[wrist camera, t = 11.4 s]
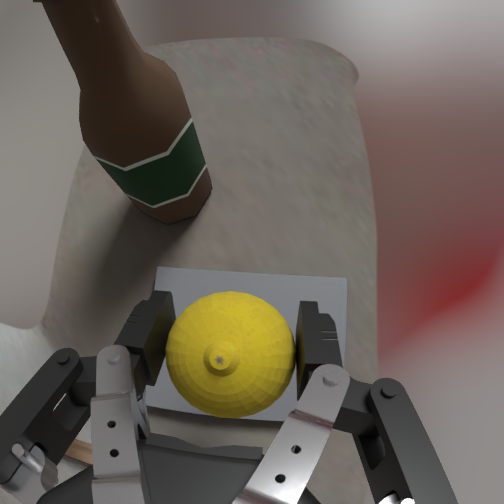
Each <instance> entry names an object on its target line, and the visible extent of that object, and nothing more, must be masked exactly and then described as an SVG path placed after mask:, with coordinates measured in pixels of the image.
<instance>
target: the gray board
mask: <svg viewBox="0 0 504 504" xmlns="http://www.w3.org/2000/svg"><path fill="white" fill-rule="evenodd" d="M154 290H159V291H170V292H171V293H172V296H173V303H174V309H175V315H176V319H177V318H178V317H179V316H180V314H181V313H182V312H183V311H184V310H185V309H186V308H187V307H188V306H190V305H191V304H193V303H194V302H195V301H197V300H198V299H200V298H203V297H205V296H208V295H211V294H213V293H219V292H228V291H234V292H242V293H248V294H251V295H253V296H256V297H258V298H261V299H263V300H264V301H266V302H267V303H269V304H270V305H271V306H273V307H274V308H276V309H277V310H278V312H279V313H280V314H281V315H282V316H283V318H284V319H285V320H286V321H287V323H288V325H289V327H290V329H291V331H292V334H293V336H294V341H295V334H296V324H297V317H298V310H299V303H300V301H317V302H318V309H319V313H328V314H329V315H330V316H331V317H332V319H333V320H334V321H335V325H336V330H337V331H336V332H337V336H338V341H339V347H340V352H341V358H342V364H343V368H344V355H345V336H346V309H347V278H335V277H315V276H297V275H279V274H262V273H245V272H230V271H215V270H200V269H186V268H172V267H159V266H157V272H156V280H155V288H154ZM145 400H146V405H147V406H153V407H158V408H163V409H169V410H175V411H182V412H188V413H195V414H203V415H209V414H206V413H204V412H202V411H200V410H198V409H197V408H195V407H193V406H192V405H190V404H189V403H188V402H187V401H186V400H185V399H184V398H183V397H182V396H181V395H180V394H179V393H178V391H177V390H176V388H175V386H174V385H173V383H172V381H171V379H170V376H169V373H168V369H167V366H166V356H165V359H164V362H163V364H162V367H161V370H160V373H159V376H158V378H157V381H156V384H155V386H149V385H146V393H145ZM297 403H298V401H297V382H296V367H295V370H294V373H293V376H292V379H291V382H290V384H289V385H288V387H287V388H286V390H285V391H284V393H283V394H282V396H281V397H280V398H279V399H278V400H276V401H275V402H274V403H273V404H272V405H271V406H270V407H268V408H266V409H264V410H262V411H260V412H258V413H256V414H254V415H250V416H246V417H241V418H240V419H253V420H270V421H285V420H286V418H287V416H288V415H289V413H290V412H291V411H293V410H294V409H295V407H296V405H297ZM211 416H213V415H211Z"/></svg>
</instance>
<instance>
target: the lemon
mask: <svg viewBox="0 0 504 504" xmlns="http://www.w3.org/2000/svg"><path fill="white" fill-rule="evenodd" d="M165 351H166V366H167V369H168V373H169V376H170V379H171V381H172V383H173V385H174V386H175V388H176V390H177V391H178V393H179V394H180V395H181V396H182V397H183V398H184V399H185V400H186V401H187V402H188V403H189V404H190V405H192V406H193V407H195V408H197V409H198V410H200V411H202V412H204V413H206V414H209V415H213V416H216V417H219V418H241V417H246V416H250V415H254V414H256V413H258V412H260V411H262V410H264V409H266V408H268V407H270V406H271V405H272V404H273V403H274V402H275V401H276V400H278V399H279V398H280V397H281V396H282V394H283V393H284V391H285V390H286V388H287V387H288V385H289V384H290V382H291V379H292V376H293V373H294V370H295V367H296V346H295V341H294V336H293V334H292V331H291V329H290V327H289V325H288V323H287V321H286V320H285V319H284V318H283V316H282V315H281V314H280V313H279V312H278V310H277V309H276V308H274V307H273V306H271V305H270V304H269V303H267V302H266V301H264V300H263V299H261V298H258V297H256V296H253V295H251V294H248V293H242V292H234V291H228V292H219V293H213V294H211V295H208V296H205V297H203V298H200V299H198V300H197V301H195V302H194V303H193V304H191V305H190V306H188V307H187V308H186V309H185V310H184V311H183V312H182V313H181V314H180V316H179V317H178V318H177V319H176V320H175V322H174V324H173V326H172V328H171V330H170V332H169V335H168V339H167V344H166V349H165Z"/></svg>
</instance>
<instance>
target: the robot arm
mask: <svg viewBox="0 0 504 504" xmlns="http://www.w3.org/2000/svg"><path fill="white" fill-rule="evenodd" d="M175 320H176V315H175V309H174V303H173V296H172V293H171V292H170V291H159V290H154V291H153V293H152V295H151V297H150V298H149V300H148V301H146V300H142V301H141V302H140V303H139V304H137V305H136V306H135V307H134V309H133V311H132V312H131V314H130V316H129V318H128V319H127V323H125V325H124V327H123V329H122V330H121V332H120V334H119V336H118V338H117V340H116V341H115V343H114V345H110V346H107V347H105V348H104V349H102V350H101V351H100V352H99V354H98V356H94V357H79V355H78V353H77V351H75V350H74V349H71V348H63V349H60V350H58V351H56V352H55V353H54V354H53V355H52V356H51V357H50V358H49V359H48V360H47V361H46V363H45V364H44V365H43V366H42V367H41V368H40V369H39V370H38V372H37V373H36V374H35V375H34V376H33V377H32V379H31V380H30V381H29V382H28V383H27V384H26V386H25V387H24V388H23V389H22V390H21V391H20V393H19V394H18V395H17V396H16V397H15V399H14V400H13V401H12V402H11V403H10V405H9V406H8V407H7V408H6V410H5V411H4V412H3V413H2V415H1V416H0V487H1V488H2V489H4V490H5V491H7V492H8V493H10V494H12V495H13V496H14V497H15V498H16V499H17V500H19V501H20V502H21V503H22V504H321V503H320V502H319V501H318V500H317V499H316V498H315V497H314V496H313V494H312V493H311V492H310V491H309V490H308V489H307V488H306V487H305V486H306V484H307V482H308V480H309V478H310V476H311V474H312V472H313V470H314V468H315V465H316V463H317V461H318V459H319V457H320V455H321V453H322V450H323V448H324V446H325V444H326V441H327V439H328V437H329V434H330V432H331V430H332V428H333V429H337V430H341V431H344V432H348V433H352V436H353V438H354V441H355V444H356V447H357V450H358V453H359V456H360V459H361V462H362V465H363V468H364V471H365V474H366V477H367V480H368V483H369V486H370V489H371V492H372V495H373V498H374V501H375V504H458V502H457V500H456V497H455V495H454V492H453V490H452V488H451V485H450V483H449V481H448V478H447V476H446V474H445V471H444V469H443V467H442V465H441V463H440V460H439V458H438V456H437V454H436V452H435V450H434V447H433V445H432V443H431V441H430V439H429V437H428V435H427V433H426V430H425V428H424V426H423V424H422V422H421V420H420V418H419V416H418V414H417V412H416V410H415V408H414V406H413V404H412V402H411V400H410V398H409V396H408V394H407V393H406V391H405V388H404V387H403V386H402V385H401V383H399V382H398V381H396V380H394V379H391V378H382V379H379V380H377V381H375V382H374V383H373V384H368V383H363V382H360V381H357V380H354V379H353V378H351V377H350V376H349V374H348V373H347V371H346V370H345V369H344V368H343V364H342V358H341V352H340V347H339V341H338V336H337V332H336V331H337V330H336V325H335V321H334V320H333V319H332V317H331V316H330V315H329V314H328V313H319V309H318V302H317V301H300V303H299V310H298V317H297V324H296V334H295V346H296V382H297V401H298V403H297V405H296V407H295V409H294V410H293V411H291V412H290V413H289V415H288V416H287V418H286V420H285V422H284V423H283V425H282V427H281V429H280V430H279V432H278V434H277V436H276V437H275V439H274V441H273V443H272V444H271V446H270V448H269V449H268V451H267V453H266V454H265V455H263V454H262V448H263V447H248V446H236V445H231V446H223V447H213V448H200V447H198V446H195V445H193V444H190V443H187V442H185V441H183V440H180V439H178V438H175V437H170V436H165V435H159V434H154V433H151V431H150V426H149V420H148V414H147V407H146V400H145V394H144V389H145V387H146V385H149V386H155V384H156V381H157V378H158V376H159V373H160V370H161V367H162V364H163V362H164V359H165V356H166V351H165V349H166V344H167V339H168V335H169V332H170V330H171V328H172V326H173V324H174V322H175ZM65 393H66V396H65V397H64V398H63V399H62V401H61V402H60V403H59V405H58V406H57V407H56V409H55V410H54V411H53V409H54V407H55V406H56V404H57V403H58V402H59V400H60V399H61V398H62V397H63V395H64V394H65ZM90 416H91V439H92V456H93V464H92V465H91V466H89V467H87V468H86V469H84V470H83V471H81V472H79V473H78V474H76V475H74V476H73V477H71V478H69V479H68V480H66V481H64V482H63V483H61V484H59V485H58V486H56V487H54V486H55V485H57V483H58V478H57V476H58V470H57V467H56V466H57V465H58V463H59V462H60V460H61V459H62V457H63V456H64V454H65V453H66V451H67V450H68V448H69V447H70V445H71V444H72V442H73V441H74V439H75V438H76V436H77V435H78V433H79V432H80V430H81V429H82V428H83V426H84V425H85V423H86V422H87V420H88V419H89V417H90Z"/></svg>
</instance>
